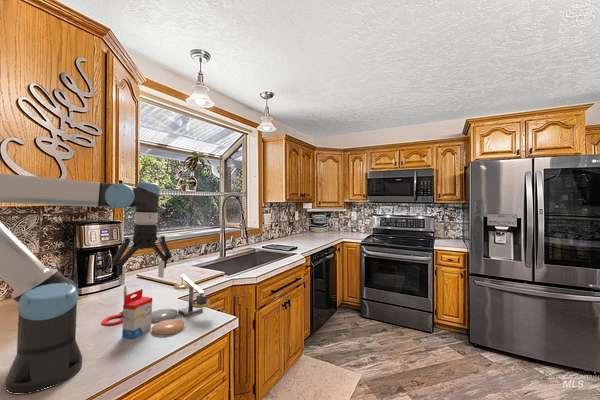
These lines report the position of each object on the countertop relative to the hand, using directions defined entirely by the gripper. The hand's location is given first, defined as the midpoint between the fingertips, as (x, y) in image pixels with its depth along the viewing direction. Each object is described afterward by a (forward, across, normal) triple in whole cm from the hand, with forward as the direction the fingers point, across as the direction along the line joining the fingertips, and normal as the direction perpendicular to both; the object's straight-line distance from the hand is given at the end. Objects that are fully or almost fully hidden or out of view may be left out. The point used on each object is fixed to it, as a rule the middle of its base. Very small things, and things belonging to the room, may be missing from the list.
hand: (142, 280), depth 98 cm
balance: (+18, +21, +1) cm, 28 cm away
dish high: (+18, +12, +6) cm, 22 cm away
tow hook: (+19, -2, +16) cm, 25 cm away
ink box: (+19, -1, -1) cm, 19 cm away
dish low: (+18, +8, -6) cm, 21 cm away
